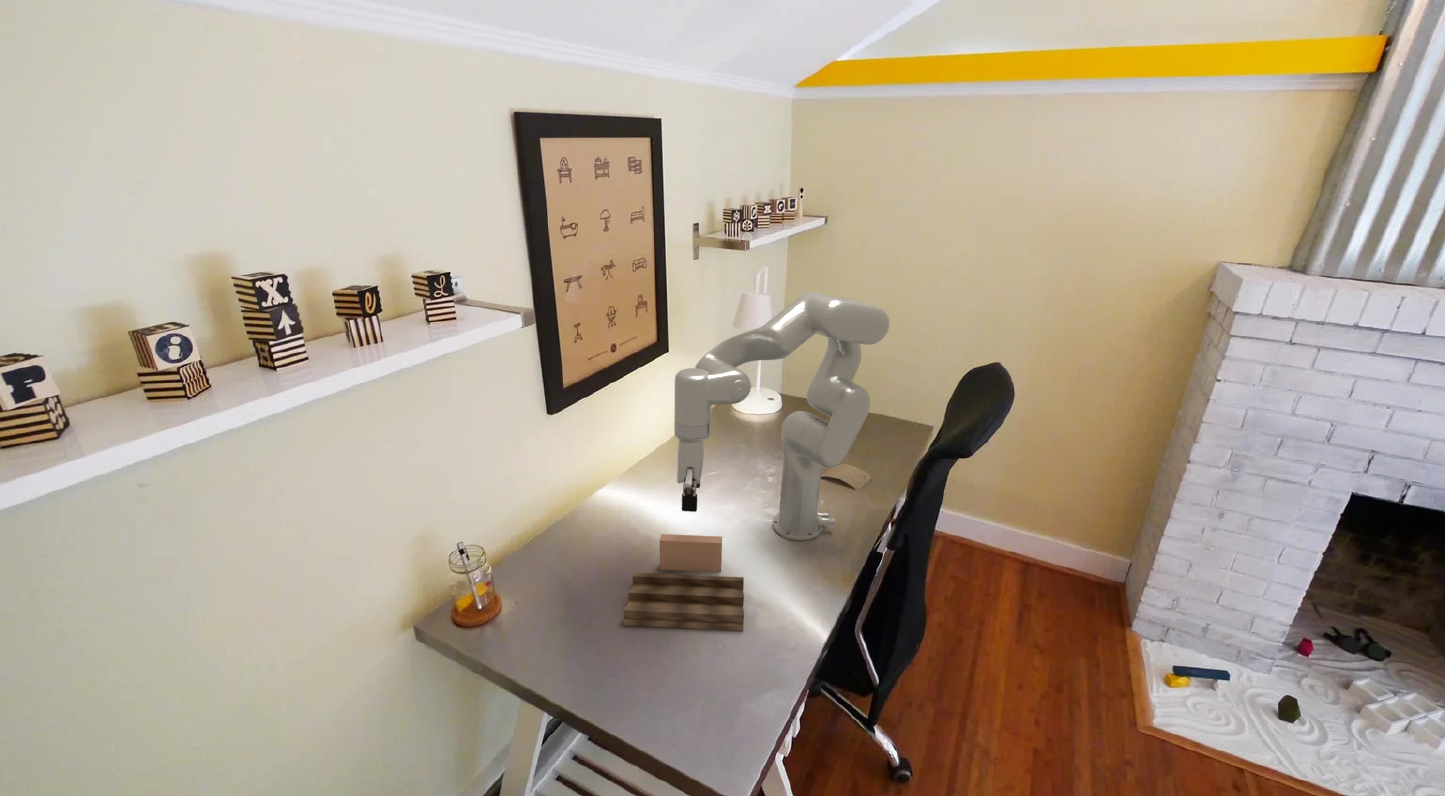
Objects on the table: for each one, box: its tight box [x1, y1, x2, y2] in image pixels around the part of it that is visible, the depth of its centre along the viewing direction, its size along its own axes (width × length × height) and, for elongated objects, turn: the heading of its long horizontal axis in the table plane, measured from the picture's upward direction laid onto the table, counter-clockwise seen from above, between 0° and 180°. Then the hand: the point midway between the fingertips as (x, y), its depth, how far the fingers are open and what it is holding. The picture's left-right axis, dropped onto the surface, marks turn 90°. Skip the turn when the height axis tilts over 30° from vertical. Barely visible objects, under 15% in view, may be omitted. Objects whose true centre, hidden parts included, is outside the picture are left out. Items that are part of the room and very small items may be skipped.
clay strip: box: [659, 533, 723, 573], centre depth 135 cm, size 14×2×8 cm, turn 88°
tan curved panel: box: [821, 463, 873, 491], centre depth 177 cm, size 14×10×3 cm
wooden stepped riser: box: [623, 572, 745, 632], centre depth 123 cm, size 24×12×4 cm, turn 88°
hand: (691, 498), depth 129 cm, fingers open, 9 cm apart
